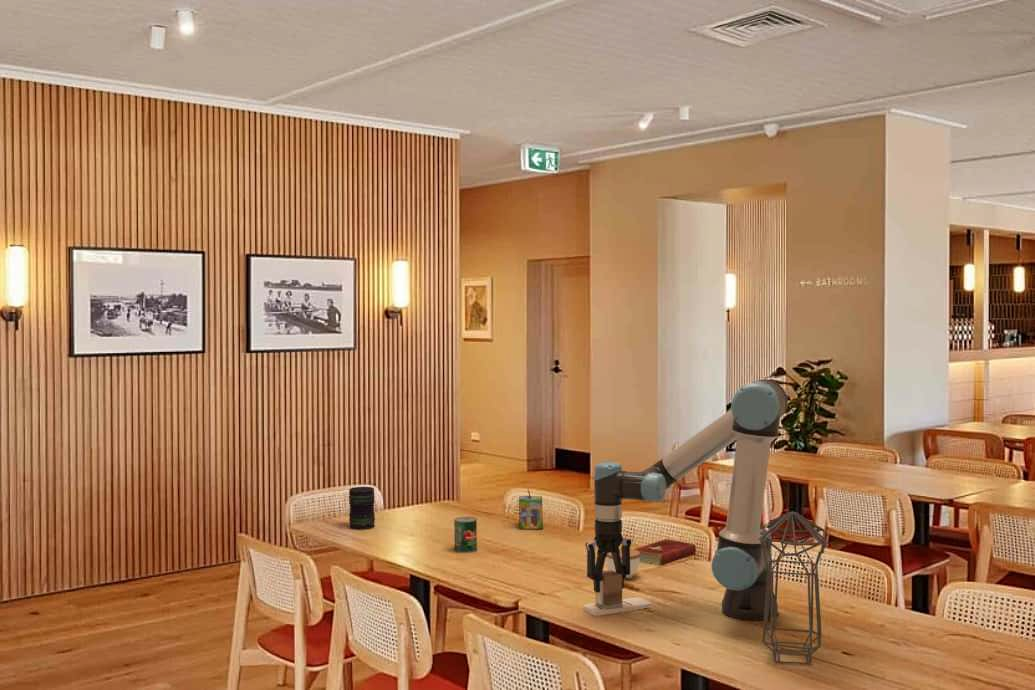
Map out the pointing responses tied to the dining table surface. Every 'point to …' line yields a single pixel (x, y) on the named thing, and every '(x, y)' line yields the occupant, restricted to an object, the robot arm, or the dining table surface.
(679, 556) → the hardcover book
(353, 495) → the storage jar
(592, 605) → the board
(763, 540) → the geometric lantern
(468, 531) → the canned tomato
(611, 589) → the eraser block
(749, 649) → the dining table surface
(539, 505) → the green juice box
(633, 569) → the lidded jar
